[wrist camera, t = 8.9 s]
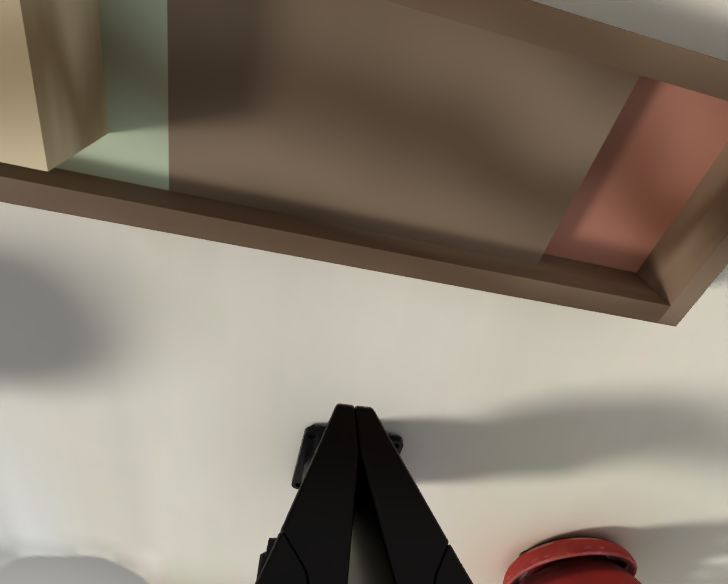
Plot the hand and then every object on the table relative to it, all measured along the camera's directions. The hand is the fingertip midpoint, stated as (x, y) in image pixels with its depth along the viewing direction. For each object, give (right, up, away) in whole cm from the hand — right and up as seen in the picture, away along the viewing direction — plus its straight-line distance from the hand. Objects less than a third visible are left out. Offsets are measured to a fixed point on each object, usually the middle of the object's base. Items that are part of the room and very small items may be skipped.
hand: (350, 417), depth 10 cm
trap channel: (-2, +10, +7) cm, 12 cm away
